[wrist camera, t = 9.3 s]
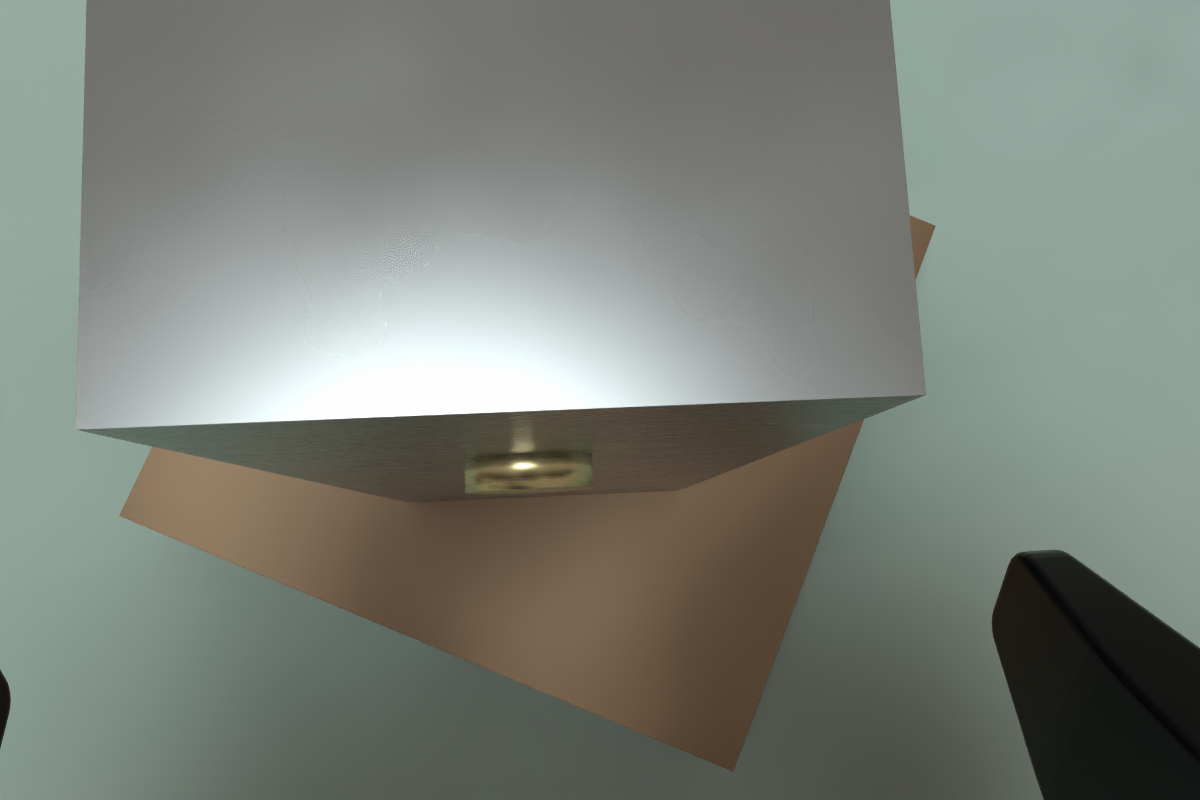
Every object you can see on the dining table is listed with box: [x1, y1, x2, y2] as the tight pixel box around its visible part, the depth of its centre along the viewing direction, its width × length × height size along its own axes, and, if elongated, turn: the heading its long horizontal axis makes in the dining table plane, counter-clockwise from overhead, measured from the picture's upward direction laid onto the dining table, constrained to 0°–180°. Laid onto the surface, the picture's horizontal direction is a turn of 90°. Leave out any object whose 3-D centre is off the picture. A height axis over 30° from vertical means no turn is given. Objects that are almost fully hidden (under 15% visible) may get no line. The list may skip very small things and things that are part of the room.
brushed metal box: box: [76, 0, 926, 503], centre depth 12 cm, size 5×5×12 cm
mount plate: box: [120, 215, 935, 771], centre depth 19 cm, size 12×11×2 cm
